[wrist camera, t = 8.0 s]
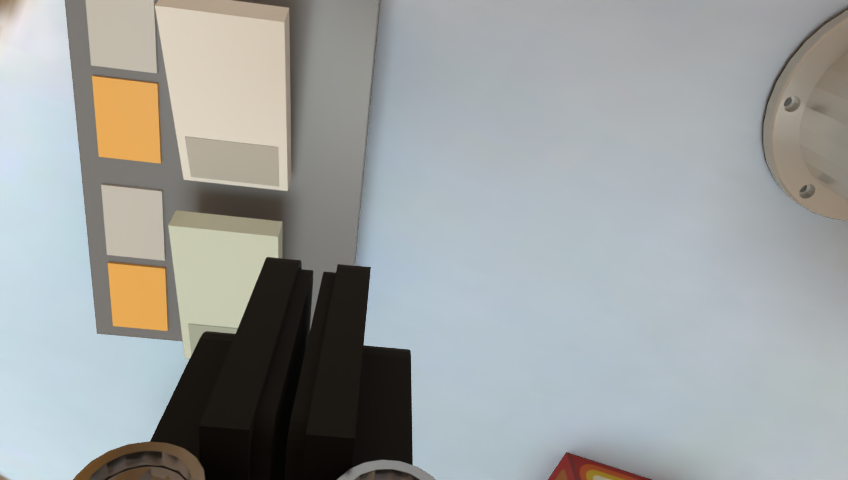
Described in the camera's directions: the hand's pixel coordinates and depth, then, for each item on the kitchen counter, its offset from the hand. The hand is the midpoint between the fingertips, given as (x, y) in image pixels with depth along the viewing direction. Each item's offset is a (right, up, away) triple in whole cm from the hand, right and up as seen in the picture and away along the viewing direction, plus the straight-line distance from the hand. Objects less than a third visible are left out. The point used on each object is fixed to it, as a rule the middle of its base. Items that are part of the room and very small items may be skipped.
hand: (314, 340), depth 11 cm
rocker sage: (-8, -1, +23) cm, 25 cm away
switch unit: (-9, +6, +27) cm, 29 cm away
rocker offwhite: (-7, +8, +19) cm, 22 cm away
